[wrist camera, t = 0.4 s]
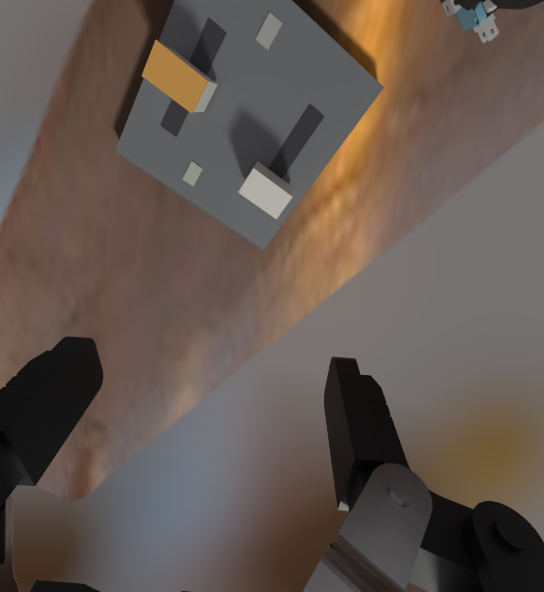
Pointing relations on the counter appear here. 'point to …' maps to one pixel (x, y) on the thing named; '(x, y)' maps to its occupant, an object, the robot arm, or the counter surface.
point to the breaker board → (249, 111)
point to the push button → (482, 13)
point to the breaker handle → (178, 78)
